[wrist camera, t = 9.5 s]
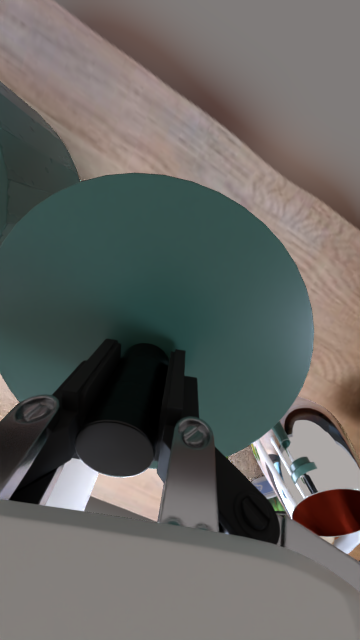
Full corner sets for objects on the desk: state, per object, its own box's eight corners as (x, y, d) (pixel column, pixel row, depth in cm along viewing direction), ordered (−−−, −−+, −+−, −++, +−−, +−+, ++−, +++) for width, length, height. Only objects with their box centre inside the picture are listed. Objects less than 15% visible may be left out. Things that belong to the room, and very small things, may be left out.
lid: (195, 482, 16) (198, 612, 11) (-21, 387, 14) (-172, 491, 8) (375, 306, 11) (599, 383, 5) (56, 84, 8) (-300, -332, 2)
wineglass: (286, 339, 29) (423, 477, 12) (278, 386, 32) (378, 548, 15) (228, 340, 29) (282, 473, 12) (226, 385, 32) (265, 543, 15)
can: (84, 469, 41) (-3, 657, 23) (31, 436, 38) (-118, 620, 20) (122, 441, 38) (57, 635, 19) (67, 402, 35) (-73, 586, 16)
